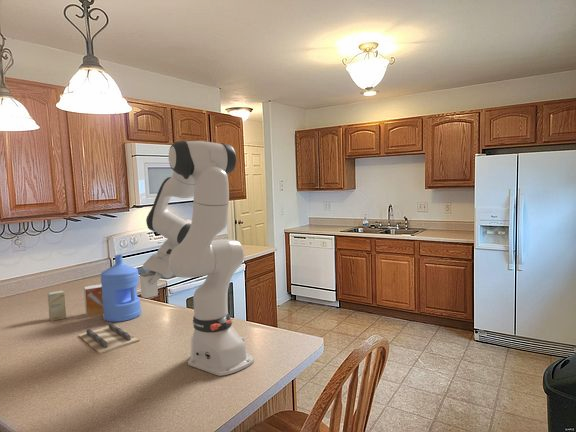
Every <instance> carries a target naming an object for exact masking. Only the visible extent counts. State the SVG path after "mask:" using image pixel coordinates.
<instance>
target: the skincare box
mask: <svg viewBox="0 0 576 432" xmlns="http://www.w3.org/2000/svg"><path fill="white" fill-rule="evenodd" d="M65 293H66V292H65V291H64V290H62V289H61V290H58V291H51V292H47V301H48V316H49V317H48V318H49V320H50V322H53V321H57V320H63V319H64V320H65V319H66V318H67V311H66V298H65Z"/></svg>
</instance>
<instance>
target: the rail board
mask: <svg viewBox="0 0 576 432" xmlns="http://www.w3.org/2000/svg"><path fill="white" fill-rule="evenodd" d="M78 337H79V338H81V339H82V340H83V341H84V342H85V343H86V344H88V345H89V346H90V347H91V348H93V349H94V351H96V352H97V353H98V354H102V353H106V352H109V351H113V350H116V349H119V348H122V347H125V346H128V345H131V344H134V343H139V342H140V339H138V338H137V337H135V336H134V335H132V334H130V333H129V332H128V331H126V330H124V329H123V328H121V327H120V326H118V325H117V324H114V323H113V322H109V323H108V326H105V327H102V328H98V329H94V330H91V329H90V328H86V332H83V333H79V334H78Z"/></svg>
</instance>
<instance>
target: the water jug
mask: <svg viewBox="0 0 576 432" xmlns="http://www.w3.org/2000/svg"><path fill="white" fill-rule="evenodd" d="M114 261H115V263H114V265H112V266H111V267H108V268H107V269H105V270H103V271H102V272H100V284H102V301H103V310H104V314H103V319H104V321H106V322H109V323H120V322H127V321H130V320H132V319H136V318H138V317H140V315H141V314H142V307H141V298H140V297H139V296H138V293H137V286H138V285H139V284H140V273H139V270H138V267H134V266H131V265H127V264H124V262H123V261H124V260H123V254H116V255H114Z"/></svg>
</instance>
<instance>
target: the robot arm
mask: <svg viewBox="0 0 576 432" xmlns="http://www.w3.org/2000/svg"><path fill="white" fill-rule="evenodd" d="M168 151H169V152H168V162H169V166H170V169H171V170H172V171H173V172H172V175H171V176H169V177H167V178H165V179H164V180H163V181H162V183H161V185H160V187H159V188H158V192H157V193H156V197H155V199H154V202H153V204H152V207H151V209H150V211H149V212H148V214H147V216H146V219H145V222H146V226H147V228H148V230H150V231H152V232H154V233H156V234H158V235H161V236H163V237H164V238H165V239H166V240H165V241H164V242H163V243H162V245H160V247H159V248H158V249H157V253H154V254H152V255H151V256H149V257H148V258H147V260H146V261H145V262H144V263H143V264H142V267H141V268H142V269H143V270H144V271H145V273H148V272H155V273H156V274H155V276H154V277H153V278H152V279H150V280H149V281H148V283H149V284H151V285H153V284H154V283H155V282H156V281H157V282H158V281H159V280H160V279H161V278H166V279H170V278H171V277H172V276H175V277H177V278H183V279H184V278H185V279H189V278H190V279H191V278H197V277H203V276H206V278H205V280H204V282H203V283H202V284H201V285H199V286H198V287H197V288H196V289H195V291H194V293H193V296H192V300H193V314H194V315H193V318H192V324H193V328H194V331H193V334H192V336H191V339H190V358H189V359H188V360H187V365H188V366H190V367H193V368H196V369H198V370H201V371H205V372H207V373H210V374H212V375H216V376H219V377H221V376H226V375H227V376H228V375H230V374H234V373H237V372H239V371H242V370H244V369H246V368H247V367H249V366H250V365H252V364H253V363H254V362H255V358H254V357H253V356H252V355H251V354H250V353H248V352H247V348H246V344H245V343H246V342H245V338H244V337H243V336H240V335H239V333H238V332H237V331H236V329H235V328H234V327H233V325H232V324H233V318H231V316H230V313H229V311H228V294H229V287H230V283H231V280H232V278H233V276H234V274H235V273H236V272H237V270H238V268H240V267H241V266H242V264H243V262H244V260H245V250H244V247H243V245H242V244H241V243H240V242H239V241H238V240H236V239H229V238H228V239H226V238H223V239H222V238H221V239H215V237H217V235H219V234H220V233H221V232H223V230H225V228H226V227H227V225H228V220H229V219H228V218H229V206H230V205H229V203H230V188H229V187H230V185H229V178H228V176H229V175H228V174H231V173H233V171H234V170H235V168H236V165H237V154H236V151H235V148H234V147H233V146H232V145H230V144H227V143H223V142H221V143H219V142H218V143H217V142H212V141H205V140H190V141H189V140H188V141H187V140H179V141H175V142H173V143H172V144H171V145H170V148H169V150H168ZM171 197H173V198H179V199H188V198H193V203H192V206H193V207H192V216H191V219H189V218H182V217H180V216H178V215H176V213H175V214H174V213H173V212H171V210H169V209H168V205H169V202H170V200H171Z"/></svg>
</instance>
